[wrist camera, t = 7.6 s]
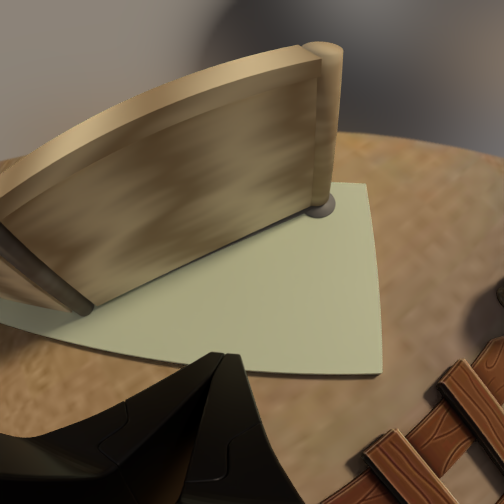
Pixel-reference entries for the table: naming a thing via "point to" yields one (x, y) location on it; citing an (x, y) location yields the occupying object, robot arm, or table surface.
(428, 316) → the table surface
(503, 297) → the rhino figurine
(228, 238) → the hinged fence panel
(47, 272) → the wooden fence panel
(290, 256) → the card
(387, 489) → the decorative fence
